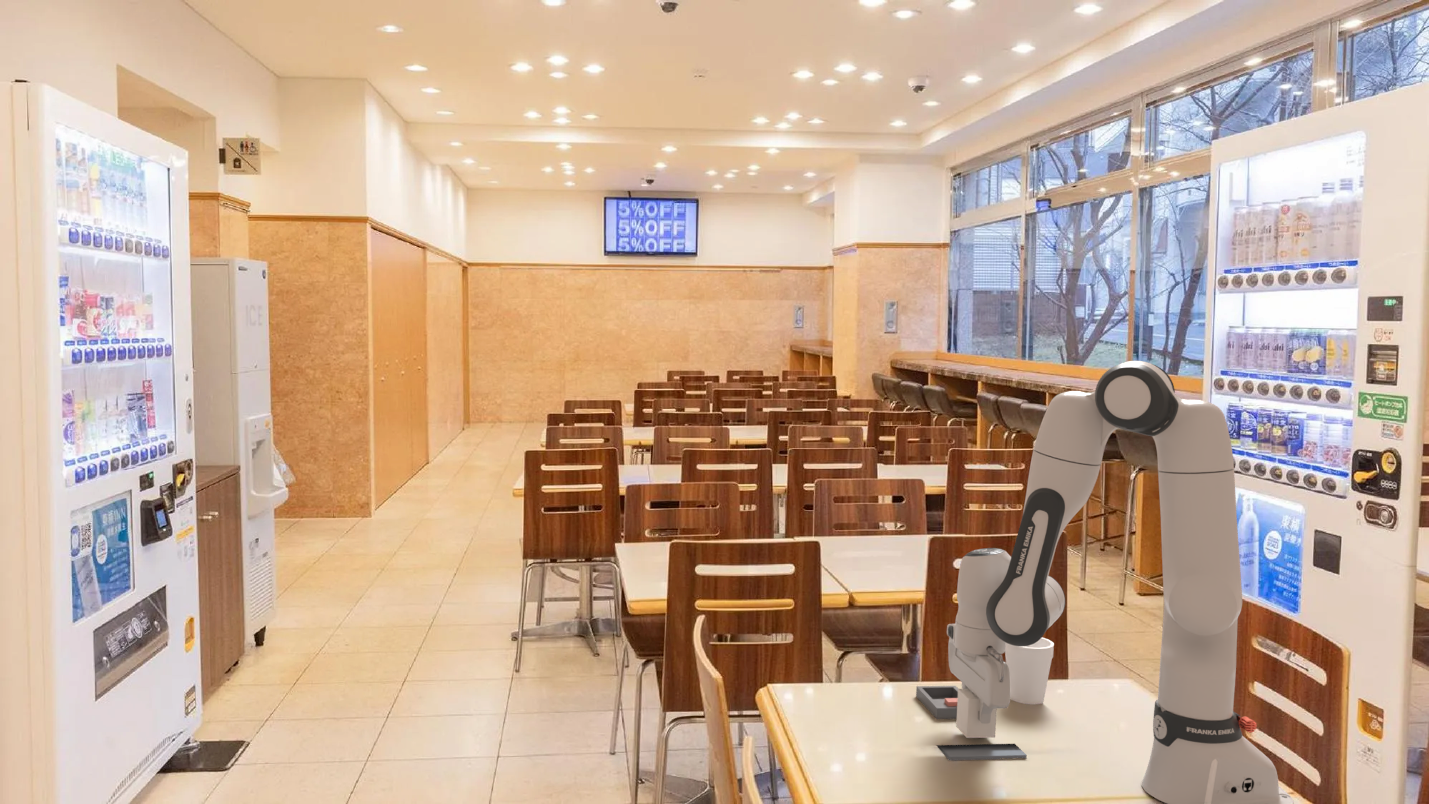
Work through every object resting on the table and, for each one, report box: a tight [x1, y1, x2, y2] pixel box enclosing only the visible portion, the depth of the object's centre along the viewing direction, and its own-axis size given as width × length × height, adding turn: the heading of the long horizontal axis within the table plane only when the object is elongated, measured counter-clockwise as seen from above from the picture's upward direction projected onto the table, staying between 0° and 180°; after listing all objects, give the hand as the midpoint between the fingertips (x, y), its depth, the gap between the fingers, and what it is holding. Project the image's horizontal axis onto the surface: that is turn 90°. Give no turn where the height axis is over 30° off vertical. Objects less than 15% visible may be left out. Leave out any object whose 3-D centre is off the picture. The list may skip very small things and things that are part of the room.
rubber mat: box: [935, 743, 1028, 761], centre depth 185 cm, size 14×12×1 cm
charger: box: [955, 688, 998, 739], centre depth 185 cm, size 5×5×7 cm
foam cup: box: [1004, 637, 1055, 705], centre depth 206 cm, size 10×9×13 cm
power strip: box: [915, 685, 959, 720], centre depth 200 cm, size 8×12×4 cm, turn 7°
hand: (976, 714), depth 185 cm, fingers closed on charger, 5 cm apart
